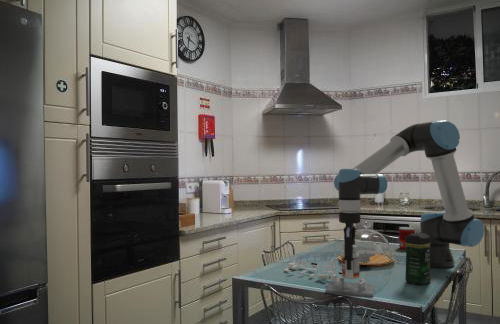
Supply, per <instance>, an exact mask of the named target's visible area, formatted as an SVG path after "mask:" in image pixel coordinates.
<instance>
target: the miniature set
mask: <svg viewBox="0 0 500 324" xmlns="http://www.w3.org/2000/svg"><path fill="white" fill-rule="evenodd" d="M328 261H329V265H327V264H324V266H323V267H324V268H325V269H327V268H330V271H329V270H322V272H324V273H318V274H316V273H311V274H309V278H311V279H312V278H314V277H316V276H317V279H319V280H323V279H324V280H330V281H336V279H337V278H338V275H337V274H336V270H335V269H336V268H337V267H336V265H335V263H334V259H333V258H331V259H329V260H328ZM299 265H300V266H301V267H302V269H305V270H303V271H301V272H299V274H300V275H303V274H305V273H307V270H309V271H318V268H319V267H320V265H318V263H317V262H310V267H313V268H310V267H308V265H307V260H301V259H300V260H299V263H297V261H296V260H293V261H291V262H289V263H288V264H287V267H286V268H285V269H283V271H284V272H292V270H296V271H297V270H299ZM325 273H327V274H325ZM328 273H331V274H330V277H329V274H328ZM338 274H339V275H342V267H340V271H339V272H338Z"/></svg>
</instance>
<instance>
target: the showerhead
mask: <svg viewBox="0 0 500 324" xmlns="http://www.w3.org/2000/svg"><path fill="white" fill-rule="evenodd" d="M357 253H358V254H359V263H362V262H363V263H367V264H368V263H370V260H371V259H370V258H372V257H374V256H376V252H375V251H374V250H371V249H363V248H362V249H359V248H358V251H357Z"/></svg>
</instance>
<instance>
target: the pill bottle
mask: <svg viewBox="0 0 500 324" xmlns="http://www.w3.org/2000/svg"><path fill="white" fill-rule="evenodd" d="M342 250H343V252H342V253H341V268H342V270H341V271H342V274H341V277H343V278H344V279H345V260H343V258H344V257H345V246H344V244H343V245H342ZM358 250H359V248H358V245H357V244H355V245H353V278H354V279H353V280H357V279H360V262H359V254H358V253H357V251H358Z"/></svg>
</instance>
